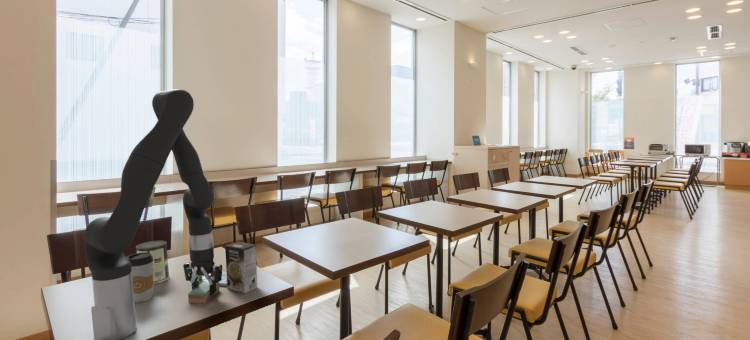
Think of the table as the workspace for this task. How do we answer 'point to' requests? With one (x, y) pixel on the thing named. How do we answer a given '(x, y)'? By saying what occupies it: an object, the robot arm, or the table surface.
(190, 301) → the mint green block
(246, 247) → the coffee box
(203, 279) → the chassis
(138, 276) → the coffee cup
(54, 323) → the table surface
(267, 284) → the table surface
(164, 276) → the coffee can
